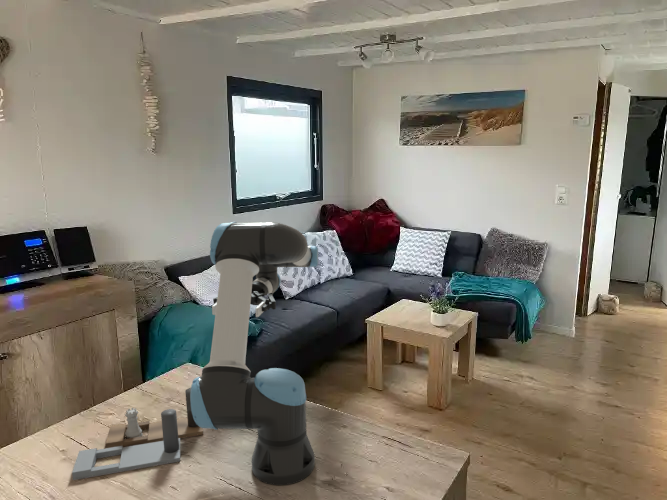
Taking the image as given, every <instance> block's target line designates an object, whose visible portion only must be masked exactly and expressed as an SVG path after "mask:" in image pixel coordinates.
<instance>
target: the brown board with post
mask: <svg viewBox="0 0 667 500" xmlns="http://www.w3.org/2000/svg"><path fill="white" fill-rule="evenodd" d="M184 392H185V401H186V402H185V403H186V406H185V407H186V416H184V417H179V418H178V417H177V427H178V438H180V439H185V438H191V437H196V436H203V435H204V428H201V427H199V426H198V425H197V424H196V423H195V421H194V418H193V415H192V411H191V401H190V393H191V387H188V388H187V389H185V391H184ZM138 425H139V427H140V429H141V430H142V431H143V430H148V433H147V435H142V436H141V437H135V438H129V439H125V437H126V436H125V433H126V430H127V427H128V423H127V422H126V423H125V422H123V423H118V424H117V423H116V424H111V425H109V428H108V432H107V437H106V441H105V448H111V447H117V446H123V447H128V446H135V445H141V444H147V443H153V442H159V441H163V430H162V420H159V421H152V422H150V420H148V421H141V422H138Z"/></svg>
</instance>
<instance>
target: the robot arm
mask: <svg viewBox="0 0 667 500" xmlns="http://www.w3.org/2000/svg"><path fill="white" fill-rule="evenodd" d="M209 244H210V245H209V248H210V251H209V257H210V260H211V261H210V262H211V263H212V264H213V265H214V266H215V271H217V272H218V273H219V283H218V291H217V297H213V301H212V302H213V305H212V306H211V310H212V311H211V312H212V314H211V315H213V316H214V323H213V331H212V339H211V348H210V356H209V357H210V358H209V362H208V363H207V364H206V365H204V367H203V368H201V376H197V377H195V378H194V379H193V380H192V384H191V386H190V388H191V393H190V401H191V411H192V415H193V418H194V421H195V423H196V424H197V425H198V426H199V427H201V428H203V429H210V430H211V429H213V430H217V431H218V430H219V429H220V430H222V429H223V430H234V429H235V430H257V439H256V442H255V443H256V444H255V447H254V450H253V453H252V456H251V471H252V473H253V475H254V477H255V478H256V479H257V480H259V481H260V482H263V483H265V484H269V485H275V486H285V485H291V484H294V483H298V482H300V481H302V480H305V478H307V477H308V476H309V475H311V473H312V472H313V471H314V468H315V465H316V464H315V461H316V460H315V451H314V449H313V447H312V444H311V442H310V440H309V437H308V434H307V408H306V407H307V405H306V402H307V393H306V385H305V382H304V379H303V378H302V377H301V376H300V374H298V373H296V372H295V371H292V370H289V369H287V368H280V367H278V368H277V367H270V368H268V369H262V370H260V371H258V372H257V373H256V374H255V376H254V377H251V374H252V373H251V372H252V371H251V370H250V368H248V366H247V365H246V358H247V357H246V355H247V348H248V347H247V346H248V336H249V324H250V323H249V321H250V314H251V312H250V311H251V306H256V307H255V318H259V317H260V316H261V315H262V314H263V313H265V312H267V311H268V310H270V309H272V310H276V308H277V307H276V305H277V303H276V300H275V298H274V293H275V292H276V291H278V289H279V287H280V286H281V283H282V282H281V281H282V279H281V276H280V274H279V273H278V268H316V267H318V264H319V247H318V246H316V245H310V244H308V240H307V238H306V237H305V235H304V234H303V233H302V232H301V231H299V230H298V229H296V228H294V227H292V226H289V225H287V224H285V223H281V222H274V221H273V222H272V221H265V222H263V221H262V222H261V221H259V222H256V221H253V222H251V221H249V222H247V221H246V222H238V221H232V222H222V223H220V224H218V225H217V226H216V227H215V228H214V230H213V233H212V236H211V239H210V243H209ZM254 277H255V279H253V278H254Z"/></svg>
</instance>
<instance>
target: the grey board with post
mask: <svg viewBox="0 0 667 500" xmlns="http://www.w3.org/2000/svg"><path fill="white" fill-rule="evenodd" d="M160 416H161V417H160V418H161V421H162V430H163V441H159V442H153V443H147V444H141V445H135V446H128V447H123V446H117V447H111V448H106V447H105V448H99V449H97V447H96V448H89V449H88V448H87V449H82V450H79V451H78V453H77V456H76V459H75V462H74V465H73V469H72V471H71V476H72V481H76V480H83V479H87V478H88V479H89V478H92V477H93V478H94V477H99V476H105V475H111V474H116V473H123V472H127V471H133V470H138V469H144V468H149V467H150V468H151V467H156V466H161V465H166V464H172V463H177V462H178V463H179V462H181V438H178V427H177V418H178V416H177V410H176V409H174V408H168V409H165V410H163V411H162V412H161V413H160ZM119 455H120V459H119V462H116V463H109V464H104V465H99V466H96V462H97V459H103V458H109V457H115V456H119Z"/></svg>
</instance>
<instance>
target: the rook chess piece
mask: <svg viewBox="0 0 667 500" xmlns="http://www.w3.org/2000/svg"><path fill="white" fill-rule="evenodd" d="M125 411H126V412H125V414H124V416H125V417H126V421H127V424H128V427H127V430H126V433H125V439H129V438H135V437H141V436H144V435H143V430H141V429H140V427H139V425H138V423H139V422H138V418H139V417H138V416H137V415H138V414H139V412H138V411H139V410H137V408H136V407H132V408H128V409H126V410H125Z"/></svg>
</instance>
